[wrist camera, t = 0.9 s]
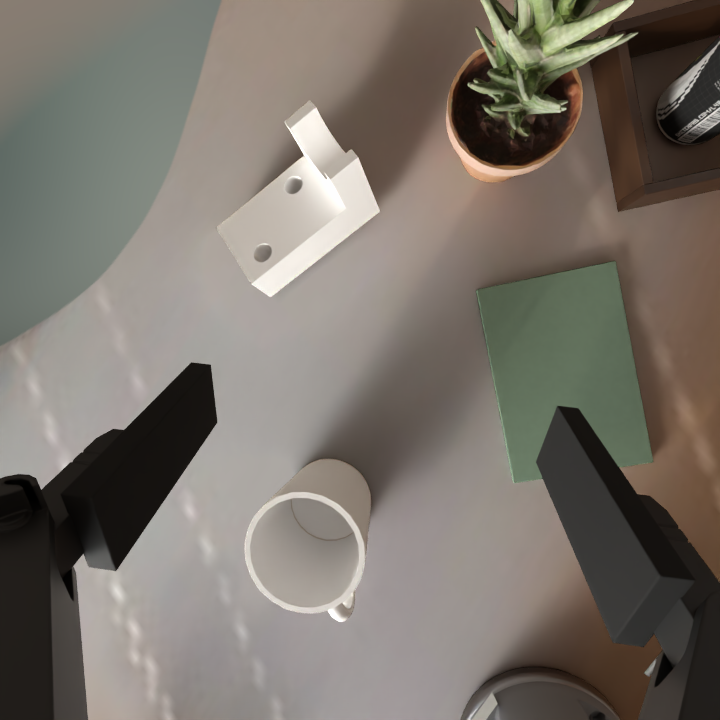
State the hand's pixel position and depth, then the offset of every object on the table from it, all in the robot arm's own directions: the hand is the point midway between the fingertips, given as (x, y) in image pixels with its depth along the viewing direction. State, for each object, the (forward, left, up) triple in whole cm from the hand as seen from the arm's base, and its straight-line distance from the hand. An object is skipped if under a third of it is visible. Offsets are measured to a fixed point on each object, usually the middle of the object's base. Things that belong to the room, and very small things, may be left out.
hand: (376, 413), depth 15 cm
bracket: (+16, +6, -23) cm, 29 cm away
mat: (-3, -15, -23) cm, 27 cm away
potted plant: (+18, -13, -23) cm, 32 cm away
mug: (-12, +8, -23) cm, 27 cm away
